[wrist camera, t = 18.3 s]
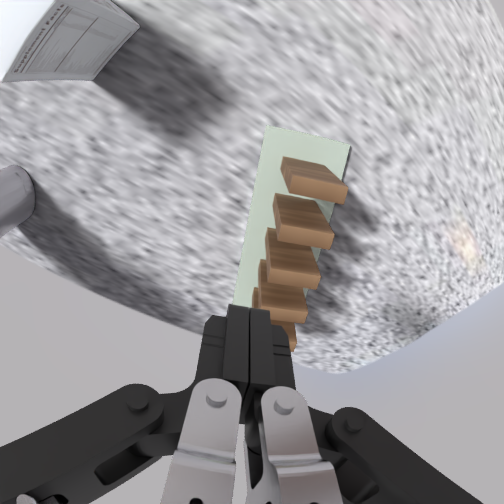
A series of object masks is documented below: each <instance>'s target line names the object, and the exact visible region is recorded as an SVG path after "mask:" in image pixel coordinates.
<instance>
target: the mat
mask: <svg viewBox="0 0 504 504" xmlns="http://www.w3.org/2000/svg"><path fill="white" fill-rule="evenodd" d="M349 148H350V145H349V144H346V143H342V142H338V141H335V140H331V139H327V138H323V137H319V136H315V135H311V134H306V133H302V132H297V131H293V130H288V129H283V128H278V127H273V126H268V125H266V129H265V134H264V139H263V144H262V149H261V155H260V160H259V165H258V170H257V175H256V180H255V186H254V191H253V196H252V201H251V206H250V212H249V217H248V222H247V228H246V233H245V238H244V243H243V249H242V254H241V260H240V265H239V270H238V276H237V281H236V287H235V292H234V298H233V303H232V304H233V305H239V306H245V307H249V308H250V307H251V308H252V294H253V290H254V287H257V288H258V267H259V263H260V259H264V260H266V249H265V236H266V231H267V227H269V228H274V229H276V226H275V220H274V213H273V207H272V204H273V200H274V195H275V193H279V194H284V195H290V196H295V197H300V198H305V199H309V200H314V201H316V203H317V204H318V206H319V208H320V210H321V211H322V213H323V215H324V216H325V218H326V220H327V222H328V223H329V222H330V219H331V215H332V212H333V208H334V205H335V203H334V202H329V201H324V200H320V199H315V198H310V197H305V196H300V195H295V194H290V193H289V192H288V189H287V186H286V184H285V181H284V178H283V176H282V173H281V170H280V167H281V163H282V158H283V156H285V157H290V158H295V159H299V160H304V161H308V162H313V163H317V164H322V165H325V166H326V167H327V168H328V169H329V170H330V171H331V172H332V173H333V174H335V175H336V176H337V177H338V178H339V179H340V180H341V179H342V175H343V172H344V168H345V164H346V160H347V156H348V152H349ZM311 249H312V252H313V254H314V257H315V260H316V263H317V261H318V258H319V255H320V252H321V249H322V248H316V247H311ZM303 291H304V295H305V298H306V295H307V292H308V288H303Z"/></svg>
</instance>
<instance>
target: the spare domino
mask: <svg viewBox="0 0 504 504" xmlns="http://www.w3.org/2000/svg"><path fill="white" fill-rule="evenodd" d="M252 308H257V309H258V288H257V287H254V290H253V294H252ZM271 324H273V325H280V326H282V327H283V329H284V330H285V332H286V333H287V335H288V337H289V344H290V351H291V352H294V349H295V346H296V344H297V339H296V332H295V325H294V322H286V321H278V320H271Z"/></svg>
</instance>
